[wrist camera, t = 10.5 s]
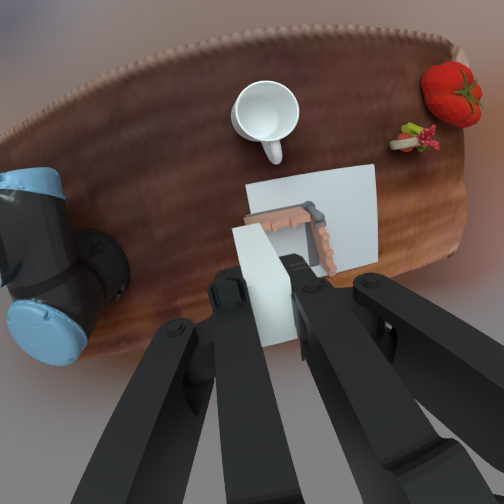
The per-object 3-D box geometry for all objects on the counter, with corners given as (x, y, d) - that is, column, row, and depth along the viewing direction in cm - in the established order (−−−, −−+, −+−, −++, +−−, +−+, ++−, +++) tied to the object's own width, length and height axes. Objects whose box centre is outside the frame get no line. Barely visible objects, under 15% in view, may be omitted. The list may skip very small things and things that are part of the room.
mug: (292, 155, 46) (313, 159, 36) (245, 168, 46) (253, 176, 36) (273, 88, 41) (289, 75, 32) (224, 100, 41) (227, 89, 31)
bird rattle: (389, 158, 50) (428, 148, 46) (402, 172, 41) (448, 160, 37) (380, 129, 48) (420, 118, 44) (392, 136, 38) (440, 124, 35)
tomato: (454, 131, 47) (492, 136, 36) (409, 114, 45) (449, 114, 34) (455, 78, 42) (491, 76, 31) (410, 56, 40) (447, 46, 29)
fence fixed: (244, 224, 49) (249, 237, 43) (243, 216, 49) (247, 228, 42) (311, 210, 50) (325, 221, 43) (310, 203, 49) (325, 212, 43)
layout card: (259, 290, 54) (260, 291, 54) (239, 186, 47) (239, 186, 46) (376, 260, 56) (378, 261, 55) (372, 164, 48) (374, 164, 47)
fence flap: (305, 215, 49) (317, 226, 44) (315, 212, 49) (328, 222, 44) (319, 265, 53) (331, 280, 48) (327, 262, 53) (340, 277, 48)
